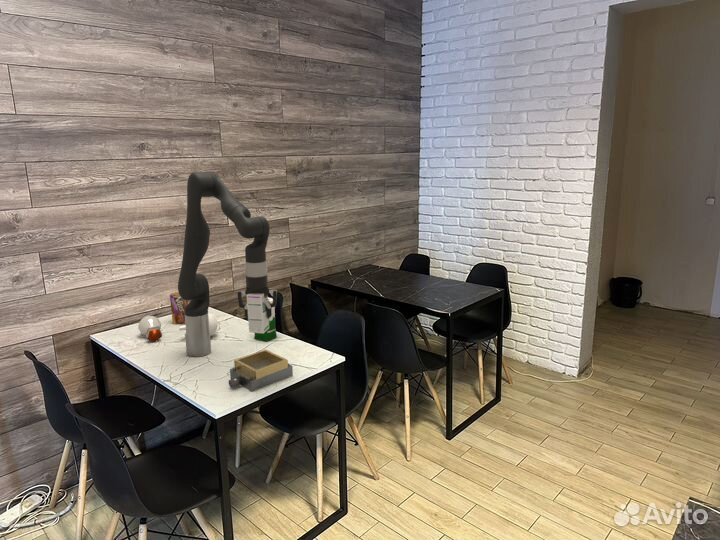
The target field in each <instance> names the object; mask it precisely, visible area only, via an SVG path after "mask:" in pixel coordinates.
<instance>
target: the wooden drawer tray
mask: <svg viewBox="0 0 720 540" xmlns="http://www.w3.org/2000/svg"><path fill="white" fill-rule="evenodd" d="M233 363H234V365H233V366H234V367H232V368H230V369H229V376H230V379H229V380H228V385H229V387H230V389H233V388H236V387H238V386H241V387H243V388H245V389H246V390H248V391H250V392H255V391H258V390H260V389H263V388H265V387H268V386H270V385H273V384H276V383H278V382H281V381H283V380H285V379H287V378H290V377H292V376H293V374H294V373H293V365H292V364H290V362H289V360H288V359H287V358H284V357H283V356H280V355H278V354H276V353H274V352H272V351H270V350H268V349H263V350H259V351H257V352H254V353H252V354H247V355H245V356H242V357H239V358H237V359H234V360H233Z"/></svg>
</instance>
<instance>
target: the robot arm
mask: <svg viewBox="0 0 720 540" xmlns="http://www.w3.org/2000/svg"><path fill="white" fill-rule="evenodd" d="M186 195H187V196H186V203H187V204H186V223H185V228H184V229H185V230H184V239H183V252H182V261H181V265H180V266H181V267H180V272H179V276H178V282H177V292H179V295H180V296H181V298H182V299H184V300H191V301H190V303H189V304H188V305H187V306H186V307H185V309H184V312H185V323H186V324H185V325H186V330H185V333H184V338H185V339H184V340H185V349H186V350H185V351H186V357H187V356H189V357H195V358H196V357H197V358H198V357H204V356H207V355H209V354H210V353H211V352H212V345H211V336H210V329H209V316H208V313H209V307H210V285H209V281H208V278H207V277H206V276H205V275H204V274H202V273H197V272H198V268H199V266H200V264H201V262H202V260H203V258H204V257H205V255H206V253H207V251H208V249H209V246H210V237H211V229H210V227H209V224H208V223H207V220H206V218H205V217H204V214H203V211H202V198H215V199H217V200H218V201H220V209H221V211H222V213H223V214H224V215H225V216H226V217H227V218H228V220H230V221H231V222H233V223H232V224H234V226H235V228H236V229H237V232H238V234H239V235H240V236H241V237H243V238H245V239H248V240H249V239H253V241H252V242H251V243H248V244H247V245H246V246H245V247H244V254H245V265H244V267H245V269H244V270H245V285H246V288H245V290H242V289H240V290H238V291H237V299H238V300H237V302H238V308H240V309H241V308H242V309H244V317H245V318H246V320H248V308H247V302H246V303H244V299H243V298H244V296H245V295H246V296H247V294H255V293H259V294H262V293H264V296H263V297H264V303H265V304H266V306H267V307H268V308H267V316H268V319H269V318H270V317H271V315H272V307H275V308H276V306H277V303H278V302H277V301H278V300H277V298H278V295H277V294H278V290H277V289H276V288H274V289H270V288H269V287H268V286H269V283H268V282H269V281H268V278H269V277H268V266H267V264H268V263H267V257H266V254H267V252H266V249H267V244H268V240H269V236H270V223H269V221H268V220H267V218H266V217H264V216H253V217H252V213H251V211H250V210H249V208H248V207H246V206H245V205H244V204H243V203H241V201H239V200H238V198H236V197H235V196H234V195H233V194H232V192H231V191H230V190H229V188H228V187H227V186H226V185H225V183H224V181H222V179H221V178H220V177H219V176H218V175H217V174H216V173H215V172H208V171H207V172H206V171H205V172H202V171H200V172H199V171H198V172H196V171H193V172H191V173H190V174H189V176H188V178H187V185H186ZM269 294H270V295H271V296H272V299H273V303H270V301H269V299H268V298H269V297H268V298H267V300H266V297H267V295H269Z"/></svg>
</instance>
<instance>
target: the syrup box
mask: <svg viewBox="0 0 720 540" xmlns="http://www.w3.org/2000/svg"><path fill="white" fill-rule="evenodd" d="M268 295H269V294H268ZM268 295H267V297H266V300H267V298H269V296H268ZM263 296H264V293H262V294H259V293H255V294H247V295H246V303H247V308H248V319H247V320H248V331H249V332H248V333H250V334H251V333H253V334H255V333H264V332H265V331H267V330H268V329H269V328H270V327H269V319H268V316H267V308H268V307H267V306H266V304H265V303H264V297H263Z"/></svg>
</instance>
